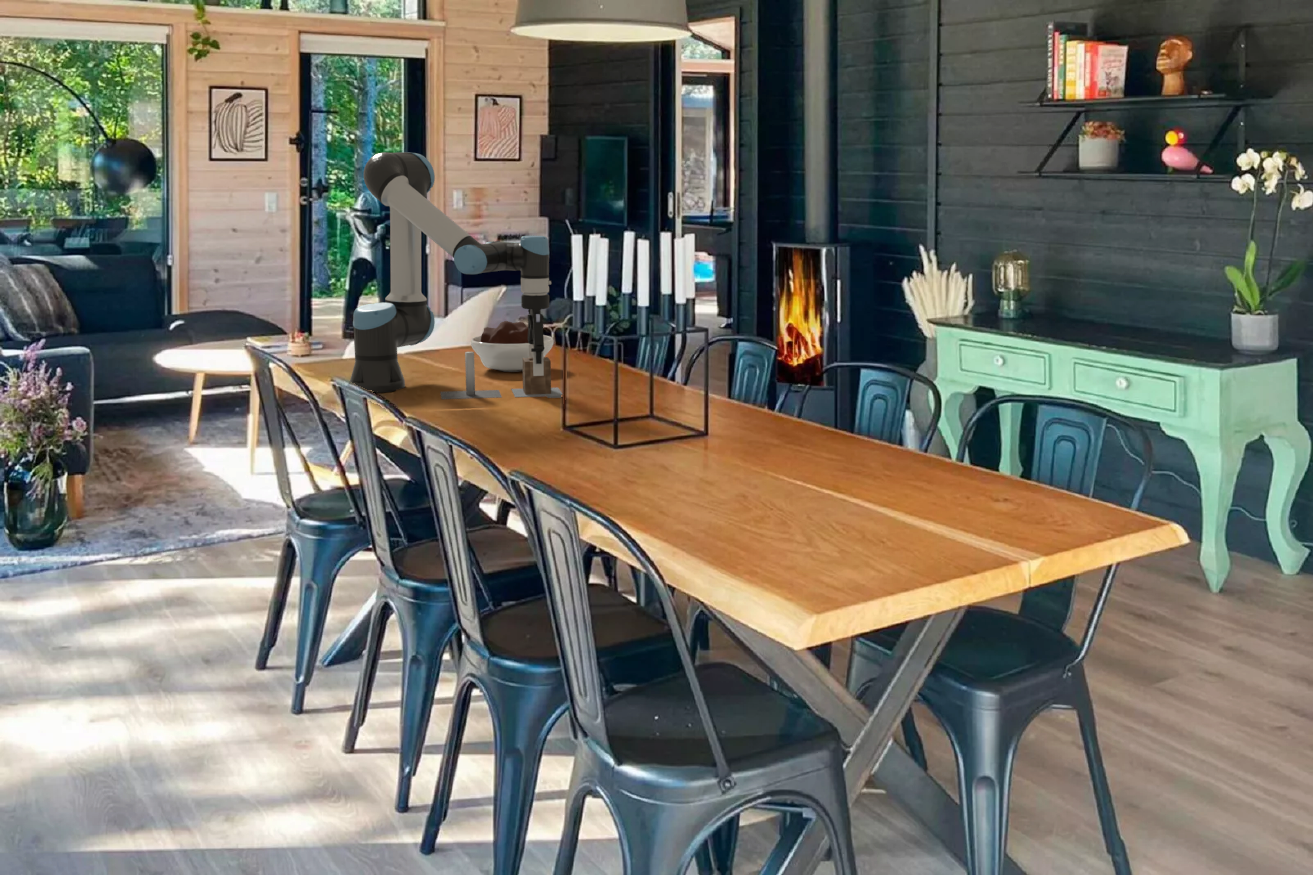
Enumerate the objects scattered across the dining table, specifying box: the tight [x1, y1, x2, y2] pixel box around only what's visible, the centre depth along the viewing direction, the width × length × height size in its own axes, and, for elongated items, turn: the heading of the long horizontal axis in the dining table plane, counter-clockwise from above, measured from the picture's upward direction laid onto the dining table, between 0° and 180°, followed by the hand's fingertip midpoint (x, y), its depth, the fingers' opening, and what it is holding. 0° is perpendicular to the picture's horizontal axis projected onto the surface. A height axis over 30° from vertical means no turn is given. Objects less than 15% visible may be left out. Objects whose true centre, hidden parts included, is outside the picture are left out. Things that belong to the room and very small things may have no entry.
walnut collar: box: [522, 356, 552, 395], centre depth 385 cm, size 7×7×9 cm
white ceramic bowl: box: [470, 320, 554, 373], centre depth 427 cm, size 25×25×15 cm
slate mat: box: [511, 387, 563, 399], centre depth 386 cm, size 13×13×1 cm
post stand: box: [440, 351, 503, 400], centre depth 381 cm, size 16×12×12 cm
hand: (536, 371), depth 385 cm, fingers open, 13 cm apart
